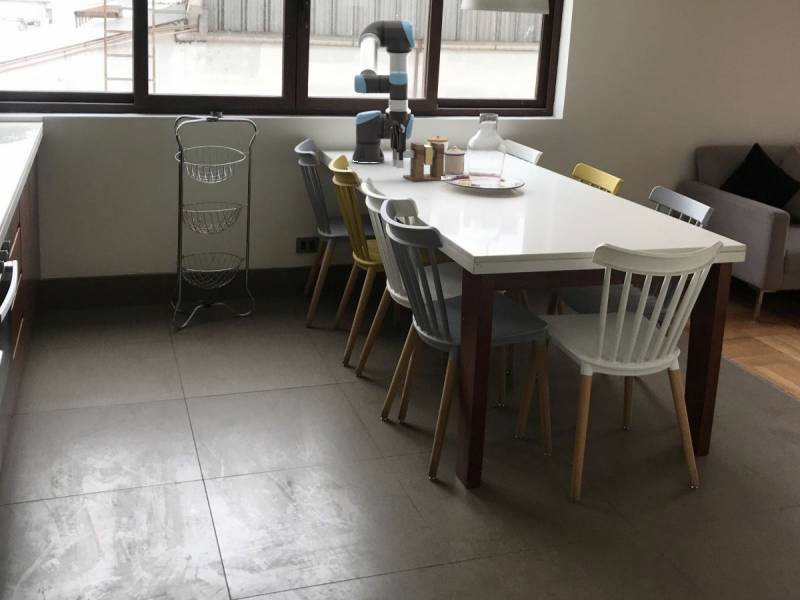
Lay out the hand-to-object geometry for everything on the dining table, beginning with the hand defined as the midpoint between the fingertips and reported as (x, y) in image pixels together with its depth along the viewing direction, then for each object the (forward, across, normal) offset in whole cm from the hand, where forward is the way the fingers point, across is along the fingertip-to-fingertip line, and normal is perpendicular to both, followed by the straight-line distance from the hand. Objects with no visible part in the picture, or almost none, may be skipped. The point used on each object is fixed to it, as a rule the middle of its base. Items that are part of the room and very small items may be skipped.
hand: (397, 166), depth 397 cm
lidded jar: (+6, -67, +46) cm, 81 cm away
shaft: (-3, 0, +8) cm, 9 cm away
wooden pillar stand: (+6, 0, +13) cm, 14 cm away
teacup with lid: (+6, -13, +31) cm, 34 cm away
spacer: (-1, 0, +12) cm, 13 cm away
